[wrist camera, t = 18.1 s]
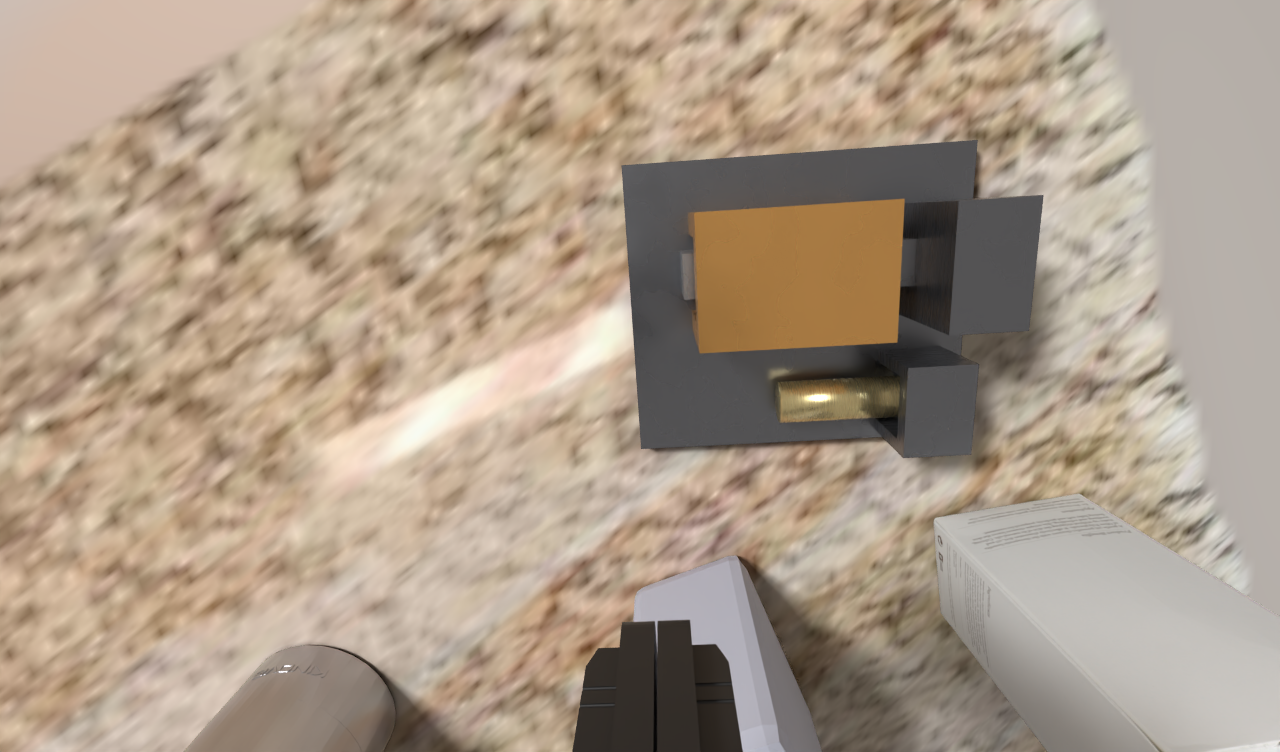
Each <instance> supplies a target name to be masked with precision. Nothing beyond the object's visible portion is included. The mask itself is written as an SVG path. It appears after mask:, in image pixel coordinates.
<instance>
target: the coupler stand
mask: <svg viewBox="0 0 1280 752" xmlns="http://www.w3.org/2000/svg"><path fill="white" fill-rule="evenodd" d="M977 141H978V140H972V141H958V142H944V143H930V144H916V145H902V146H888V147H874V148H860V149H846V150H832V151H818V152H804V153H790V154H776V155H762V156H748V157H734V158H720V159H706V160H692V161H678V162H664V163H650V164H636V165H622V177H623V192H624V206H625V221H626V235H627V250H628V264H629V278H630V293H631V307H632V322H633V336H634V351H635V365H636V379H637V394H638V408H639V423H640V437H641V449H650V448H670V447H690V446H710V445H730V444H750V443H770V442H790V441H810V440H830V439H850V438H870V437H883V438H884V439H885V440H886V441H887V442H888V443H889V444H890V445H891V446H892V447H893V448H894V449H895V450H896V451H897V452H898V453H899V454H900V455H901V456H902V457H903V458H911V457H932V456H953V455H971V450H972V439H973V427H974V416H975V404H976V393H977V381H978V369H979V364H977V363H975V362H973V361H971V360H969V359H967V358H965V357H962V356H961V346H962V335H966V334H983V333H1001V332H1018V331H1029V325H1030V316H1031V307H1032V297H1033V288H1034V279H1035V270H1036V260H1037V251H1038V242H1039V232H1040V223H1041V214H1042V204H1043V195H1036V196H1014V197H993V198H973V192H974V179H975V166H976V154H977ZM892 199H905V202H904V222H903V242H902V261H901V281H900V301H899V321H898V340H897V343H880V344H862V345H844V346H826V347H808V348H790V349H772V350H753V351H735V352H717V353H699V350H698V346H697V343H696V340H695V336H694V333H693V324H692V310H696V299H695V274H694V249H693V237H692V236H690V235H689V226H688V213H691V212H706V211H721V210H737V209H752V208H767V207H782V206H797V205H812V204H828V203H843V202H858V201H875V200H892ZM896 375H899V376H900V392H899V411H898V417H886V418H866V419H847V420H827V421H808V422H788V423H779V421H778V419H777V415H776V408H775V386H776V383H777V382H786V381H804V380H823V379H841V378H860V377H878V376H896Z"/></svg>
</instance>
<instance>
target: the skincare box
mask: <svg viewBox="0 0 1280 752" xmlns="http://www.w3.org/2000/svg"><path fill="white" fill-rule="evenodd" d="M934 533H935V547H936V561H937V574H938V585H939V597H940V610H941V614H942V615H943V617H944V618H945V619H946V621H947V622H948V623H949V624H950V626H951V627H952V628H953V629H954V630H955V632H956V633H957V635H958V636H959V637H960V639H961V640H962V641H963V643H964V644H965V645H966V646H967V648H968V649H969V650H970V652H971V653H972V654H973V655H974V657H975V658H976V659H977V661H978V662H979V663H980V665H981V666H982V667H983V668H984V670H985V671H986V672H987V674H988V675H989V676H990V678H991V679H992V680H993V682H994V683H995V684H996V685H997V687H998V688H999V689H1000V691H1001V692H1002V693H1003V695H1004V696H1005V697H1006V699H1007V700H1008V701H1009V702H1010V704H1011V705H1012V706H1013V708H1014V709H1015V710H1016V711H1017V713H1018V714H1019V715H1020V717H1021V718H1022V719H1023V720H1024V722H1025V723H1026V724H1027V726H1028V727H1029V728H1030V729H1031V731H1032V732H1033V733H1034V735H1035V736H1036V737H1037V739H1038V740H1039V741H1040V743H1041V744H1042V745H1043V746H1044V748H1045V749H1046V750H1047V752H1280V616H1278V615H1277V614H1275V613H1274V612H1272V611H1270V610H1269V609H1267V608H1266V607H1264V606H1262V605H1261V604H1259V603H1257V602H1256V601H1254V600H1253V599H1251V598H1249V597H1248V596H1246V595H1244V594H1243V593H1241V592H1239V591H1238V590H1236V589H1234V588H1233V587H1231V586H1230V585H1228V584H1226V583H1225V582H1223V581H1221V580H1220V579H1218V578H1216V577H1215V576H1213V575H1211V574H1210V573H1208V572H1207V571H1205V570H1203V569H1202V568H1200V567H1198V566H1197V565H1195V564H1193V563H1192V562H1190V561H1189V560H1187V559H1185V558H1184V557H1182V556H1180V555H1179V554H1177V553H1175V552H1174V551H1172V550H1170V549H1169V548H1167V547H1165V546H1164V545H1162V544H1161V543H1159V542H1157V541H1156V540H1154V539H1152V538H1151V537H1149V536H1148V535H1146V534H1144V533H1143V532H1141V531H1139V530H1138V529H1136V528H1135V527H1133V526H1131V525H1130V524H1128V523H1126V522H1125V521H1123V520H1121V519H1120V518H1118V517H1116V516H1115V515H1113V514H1112V513H1110V512H1108V511H1107V510H1105V509H1103V508H1102V507H1100V506H1099V505H1097V504H1095V503H1094V502H1092V501H1090V500H1089V499H1087V498H1085V497H1084V496H1082V495H1081V494H1073V495H1068V496H1062V497H1056V498H1050V499H1044V500H1037V501H1031V502H1025V503H1019V504H1013V505H1007V506H1001V507H995V508H989V509H983V510H978V511H972V512H966V513H960V514H954V515H948V516H943V517H938V518H935V519H934Z"/></svg>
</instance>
